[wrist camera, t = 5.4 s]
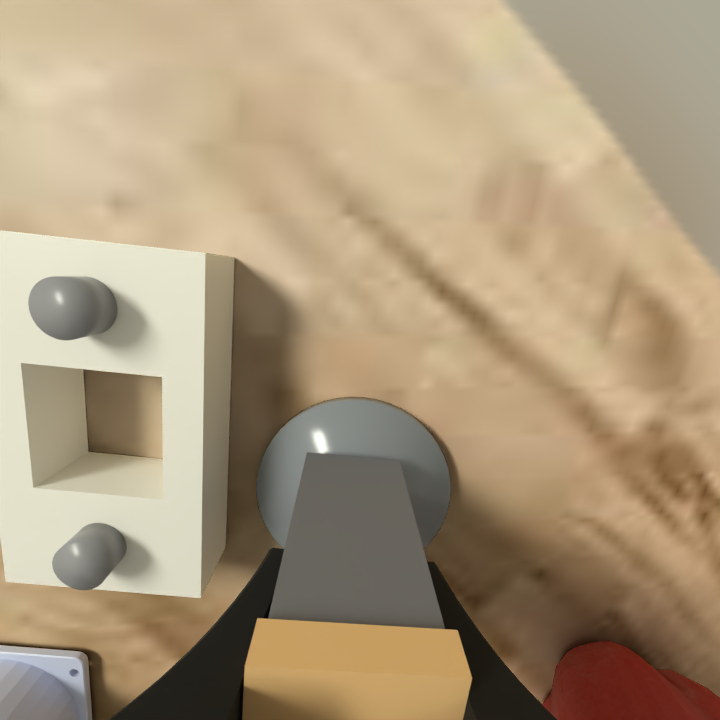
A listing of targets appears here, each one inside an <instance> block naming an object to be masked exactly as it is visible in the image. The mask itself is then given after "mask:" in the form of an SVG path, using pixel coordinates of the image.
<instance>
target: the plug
mask: <svg viewBox="0 0 720 720" xmlns="http://www.w3.org/2000/svg"><path fill="white" fill-rule="evenodd" d="M471 681H472V676H471V672H470V669H469V666H468V663H467V659H466V656H465V653H464V649H463V646H462V643H461V640H460V636H459V633H458V630H450V629H445V626H444V623H443V619H442V615H441V612H440V608H439V604H438V601H437V597H436V593H435V590H434V586H433V582H432V578H431V575H430V571H429V567H428V564H427V560H426V556H425V553H424V549H423V545H422V542H421V538H420V534H419V531H418V527H417V523H416V519H415V516H414V512H413V508H412V505H411V501H410V497H409V494H408V490H407V486H406V483H405V479H404V475H403V471H402V468H401V464H400V460H396V459H384V458H372V457H360V456H348V455H336V454H324V453H312V452H307V454H306V458H305V462H304V467H303V471H302V475H301V479H300V484H299V488H298V492H297V497H296V501H295V505H294V509H293V514H292V518H291V522H290V527H289V531H288V535H287V540H286V544H285V548H284V552H283V557H282V561H281V565H280V570H279V574H278V578H277V582H276V587H275V591H274V595H273V600H272V604H271V608H270V612H269V617H268V619H264V618H257V622H256V625H255V629H254V633H253V637H252V640H251V644H250V648H249V652H248V656H247V659H246V663H245V670H244V692H243V714H242V720H463V717H464V712H465V708H466V703H467V699H468V695H469V690H470V686H471Z"/></svg>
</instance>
